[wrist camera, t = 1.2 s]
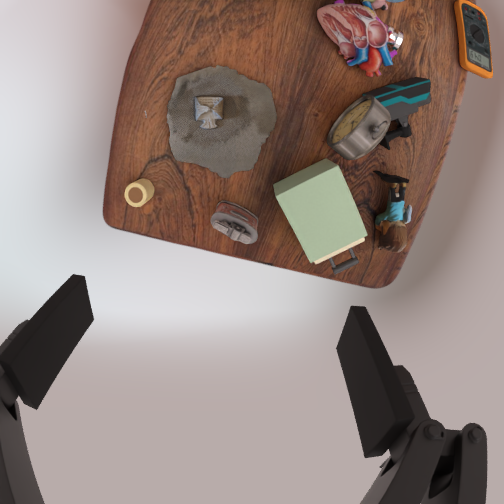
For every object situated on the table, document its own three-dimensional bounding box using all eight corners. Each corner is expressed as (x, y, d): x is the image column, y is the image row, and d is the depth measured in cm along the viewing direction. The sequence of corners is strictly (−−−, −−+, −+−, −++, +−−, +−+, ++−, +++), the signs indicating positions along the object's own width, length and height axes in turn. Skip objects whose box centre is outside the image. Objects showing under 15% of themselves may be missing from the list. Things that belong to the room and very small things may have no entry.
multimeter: (478, 13, 30) (487, 10, 27) (484, 80, 38) (494, 79, 35) (450, -2, 31) (458, -6, 27) (457, 67, 38) (466, 66, 35)
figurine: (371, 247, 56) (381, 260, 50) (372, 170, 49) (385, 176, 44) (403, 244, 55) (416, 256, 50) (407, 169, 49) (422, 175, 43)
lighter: (261, 216, 54) (261, 236, 45) (252, 231, 55) (251, 254, 46) (221, 196, 52) (213, 212, 43) (213, 212, 53) (204, 231, 44)
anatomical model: (366, -12, 27) (410, 67, 35) (365, -11, 30) (405, 60, 38) (308, 12, 33) (354, 86, 41) (313, 11, 37) (354, 77, 45)
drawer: (362, 247, 55) (373, 263, 49) (319, 268, 57) (326, 286, 51) (329, 171, 49) (339, 179, 43) (282, 195, 51) (285, 206, 45)
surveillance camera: (443, 131, 41) (430, 79, 35) (391, 151, 43) (374, 96, 38) (427, 124, 45) (414, 76, 40) (378, 143, 48) (360, 93, 43)
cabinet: (353, 218, 53) (367, 235, 45) (303, 242, 56) (310, 263, 48) (326, 158, 49) (338, 165, 41) (272, 184, 51) (275, 196, 43)
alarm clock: (354, 95, 43) (392, 87, 29) (376, 115, 45) (421, 116, 30) (318, 140, 47) (343, 149, 33) (341, 159, 49) (374, 177, 34)
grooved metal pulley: (388, 55, 39) (399, 50, 35) (373, 47, 39) (384, 41, 34) (394, 34, 37) (405, 28, 33) (380, 27, 37) (390, 20, 32)
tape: (146, 174, 51) (138, 178, 47) (158, 193, 52) (151, 199, 48) (129, 186, 52) (120, 191, 48) (141, 205, 53) (133, 211, 49)
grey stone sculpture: (243, 186, 53) (243, 189, 51) (134, 141, 48) (131, 143, 46) (290, 96, 45) (292, 95, 43) (174, 48, 40) (172, 46, 38)
